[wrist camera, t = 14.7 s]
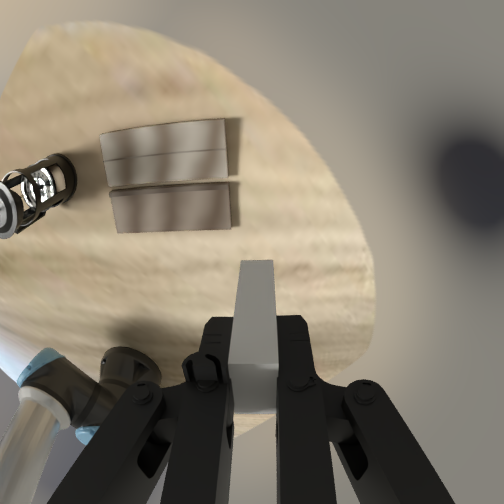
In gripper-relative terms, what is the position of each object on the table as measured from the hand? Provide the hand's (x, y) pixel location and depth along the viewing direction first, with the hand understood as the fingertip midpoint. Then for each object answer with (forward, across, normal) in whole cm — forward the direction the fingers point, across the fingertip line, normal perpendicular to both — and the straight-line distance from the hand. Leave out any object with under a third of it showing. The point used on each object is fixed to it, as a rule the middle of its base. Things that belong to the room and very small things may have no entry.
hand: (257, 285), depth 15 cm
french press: (+35, -37, 0) cm, 51 cm away
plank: (+34, -15, +2) cm, 37 cm away
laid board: (+34, -15, -7) cm, 38 cm away
